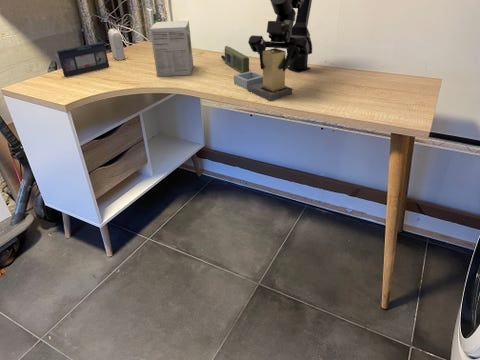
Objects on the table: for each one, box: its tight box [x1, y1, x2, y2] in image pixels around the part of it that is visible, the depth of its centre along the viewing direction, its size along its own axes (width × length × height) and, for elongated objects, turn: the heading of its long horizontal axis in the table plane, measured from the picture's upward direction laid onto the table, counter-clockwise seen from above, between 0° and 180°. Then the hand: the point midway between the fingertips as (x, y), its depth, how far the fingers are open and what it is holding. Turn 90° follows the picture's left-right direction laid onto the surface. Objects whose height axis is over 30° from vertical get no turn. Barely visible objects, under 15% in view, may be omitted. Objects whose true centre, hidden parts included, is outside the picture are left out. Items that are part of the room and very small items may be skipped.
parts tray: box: [233, 70, 263, 90], centre depth 132 cm, size 8×8×3 cm
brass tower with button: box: [262, 48, 287, 93], centre depth 119 cm, size 5×5×12 cm
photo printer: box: [107, 28, 126, 61], centre depth 167 cm, size 10×4×12 cm, turn 28°
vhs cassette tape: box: [56, 41, 110, 78], centre depth 151 cm, size 18×3×10 cm, turn 129°
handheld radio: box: [220, 45, 250, 74], centre depth 151 cm, size 7×3×25 cm
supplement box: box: [149, 20, 194, 77], centre depth 145 cm, size 13×13×18 cm
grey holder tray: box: [247, 82, 293, 102], centre depth 124 cm, size 12×9×2 cm
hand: (272, 69), depth 118 cm, fingers closed on brass tower with button, 7 cm apart
